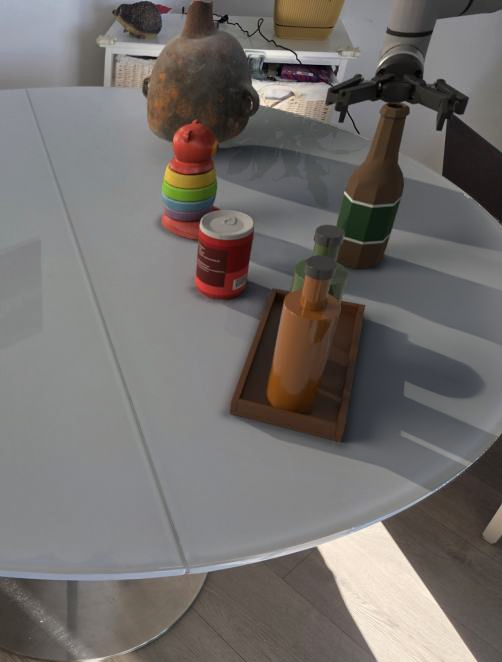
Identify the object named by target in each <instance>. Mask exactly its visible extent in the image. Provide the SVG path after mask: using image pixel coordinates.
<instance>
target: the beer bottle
mask: <svg viewBox="0 0 502 662" xmlns="http://www.w3.org/2000/svg"><path fill="white" fill-rule="evenodd" d="M378 113H379V114H380V117H379V120H378V123H377V126H376V129H375V133H374V135H373V138H372V141H371V144H370V147H369V151H368V153H367V155H366V157H365V159H364V161H363V162H362V163H361V164H360V165H359V166H357V167H356V168H355V169H354V170H353V172H352V173H351V175H350V176H349V178H348V179H347V181H346V186H345V189H344V192H343V196H342V200H341V204H340V209H339V213H338V217H337V221H336V225H335V226H338V227H340V228H342V229H343V230H344V231H345V235H344V239H343V243H342V244H341V245H340V247H339V251H338V255H337V259H336V262H337V263H339V264H341V265H342V266H344V267H345V266H346V267H348V268H352V269H355V270H359V269H371V268H375V267H376V266H377V265H378V263H380V261H381V260H382V259H383V258H384V256H385V253H386V251H387V249H388V248H387V247H388V245H389V244H388V243H389V240H390V237H391V235H392V231H393V227H394V225H395V221H396V216H397V213H398V210H399V207H400V204H401V201H402V196H403V192H404V187H405V180H404V179H405V178H404V173H403V171H402V169H401V166H400V164H399V156H400V155H399V154H400V149H401V143H402V139H403V134H404V129H405V125H406V120H407V117H408V116H409V115H410V113H411V109H410V106H409V105H407V104H406V103H404V102H401V103H398V102H392V103H386V102H385V103H384V104H383V105H382V106H381V108H380V110H379V111H378Z"/></svg>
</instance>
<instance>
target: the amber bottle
mask: <svg viewBox="0 0 502 662" xmlns="http://www.w3.org/2000/svg"><path fill="white" fill-rule="evenodd" d="M306 259H307V260H306V264H305V269H304V272H305V279H304V283H303V288H302V289H301V290H296V291H293V292H291V293H289V294H288V295H287V296H286V297H285V299H284V303H283V308H282V314H281V319H280V324H279V329H278V334H277V339H276V345H275V350H274V355H273V360H272V365H271V370H270V376H269V381H268V386H267V391H266V397H267V400H268V402H269V403H270V404H271V405H272V406H273V407H274V408H278V409H282V410H286V411H290V412H294V413H298V414H303V413H307V412H309V411H311V410H312V409H313V408H314V407H315V405H316V402H317V398H318V394H319V390H320V387H321V383H322V379H323V375H324V372H325V368H326V364H327V360H328V356H329V353H330V349H331V345H332V341H333V338H334V334H335V330H336V326H337V322H338V319H339V315H340V311H341V305H340V303H339V301H338V300H337V299H336V298H335V297H333V296H332V295H330V294H328V292H329V288H330V284H331V280H332V278H333V277H334V276H335V272H336V268H337V263H338V262H337V261H335V260H334V259H332V258H330V257H327V256H321V255H317V256H312V255H311V256H309V257H308V258H306Z"/></svg>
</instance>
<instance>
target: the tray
mask: <svg viewBox="0 0 502 662" xmlns="http://www.w3.org/2000/svg"><path fill="white" fill-rule="evenodd" d="M289 293H290V290H284V289H279V288H278V289H277V288H273V287H272V288H271V289H270V291H269V295H268V298H267V300H266V303H265V306H264V308H263V311H262V314H261V318H260V320H259V322H258V325H257V328H256V331H255V334H254V336H253V339H252V341H251V342H252V343H251V344H250V348H249V349H248V353H247V356H246V359H245V361H244V363H243V367H242V370H241V372H240V375H239V377H238V381H237V383H236V386H235V388H234V391H233V394H232V398H231V400H230V405H229V411H228V412H229V414H230V415H234V416H238V417H241V418H245V419H249V420H254V421H258V422H260V423H264V424H268V425H273V426H277V427H280V428H285V429H288V430H292V431H296V432H300V433H302V434H303V433H304V434H308V435H312V436H316V437H318V438H323V439H326V440H329V441H334V442H338V443H341V442H342V439H343V436H344V433H345V429H346V425H347V424H346V423H347V418H348V411H349V406H350V400H351V393H352V388H353V381H354V375H355V369H356V364H357V357H358V352H359V351H358V350H359V345H360V339H361V334H362V328H363V320H364V316H365V309H366V304H363V303H358V302H352V301H346V300H342V301H341V311H340V315H339V319H338V322H337V326H336V330H335V334H334V338H333V341H332V345H331V349H330V353H329V356H328V360H327V364H326V368H325V372H324V375H323V379H322V383H321V387H320V390H319V394H318V398H317V402H316V405H315V407H314V408H313V409H312V410H311V411H309V412H307V413H303V414H298V413H294V412H290V411H286V410H282V409H278V408H274V407H273V406H272V405H271V404H270V403H269V402H268V400H267V397H266V391H267V386H268V381H269V376H270V370H271V365H272V360H273V355H274V350H275V345H276V339H277V334H278V329H279V324H280V319H281V314H282V308H283V303H284V299H285V297H286V296H287V295H288V294H289Z"/></svg>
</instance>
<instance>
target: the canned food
mask: <svg viewBox="0 0 502 662" xmlns="http://www.w3.org/2000/svg"><path fill="white" fill-rule="evenodd" d="M254 233H255V221H254V219H253V217H251V216H250V215H248V214H247V213H245V212H242V211H239V210H233V209H221V210H219V211H214V212H210V213H208V214H206V215H205V216H203V217H202V219H201V221H200V228H199V238H198V240H197V253H196V265H195V266H196V267H195V277H194V283H195V286H196V289H197V290H198V292H199V293H201V294H202V295H204V296H206V297H207V298H211V299H215V300H228V299H232V298H235V297H237V296H239V295H240V294H241V293H242V292H243V291H244V290H245V288H246V285H247V280H248V274H249V267H250V262H251V261H250V260H251V254H252V248H253V240H254V235H255V234H254Z"/></svg>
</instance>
